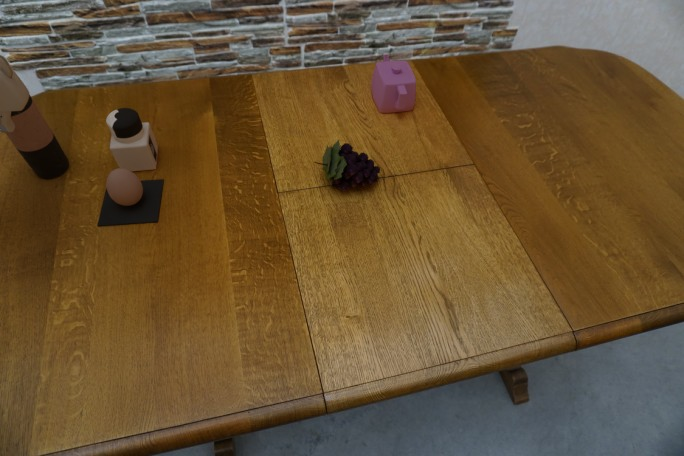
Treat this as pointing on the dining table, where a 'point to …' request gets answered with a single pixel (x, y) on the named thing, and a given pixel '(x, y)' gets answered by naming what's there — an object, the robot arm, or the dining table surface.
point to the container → (132, 141)
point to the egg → (124, 187)
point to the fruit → (348, 167)
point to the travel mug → (37, 142)
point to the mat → (133, 207)
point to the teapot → (393, 86)
